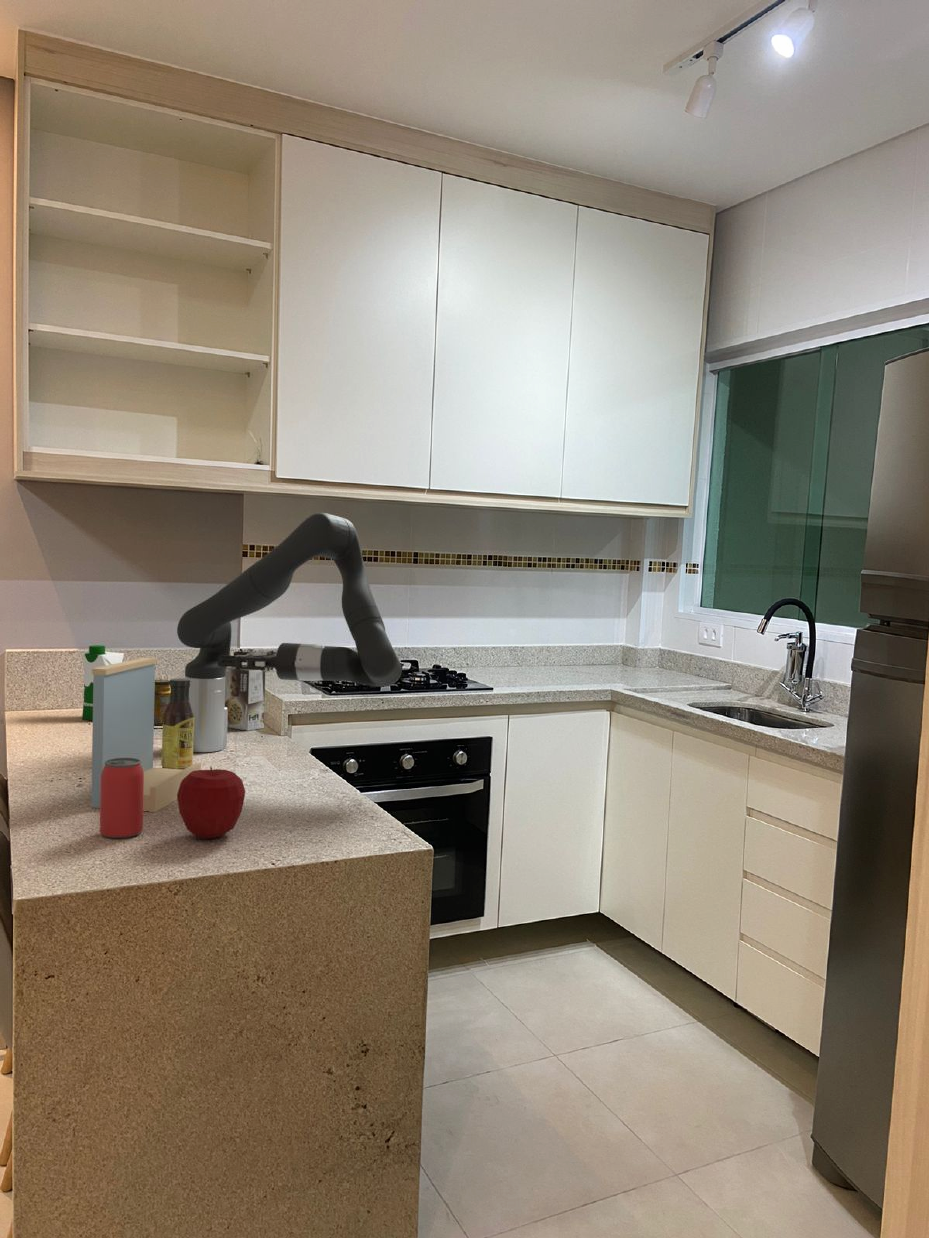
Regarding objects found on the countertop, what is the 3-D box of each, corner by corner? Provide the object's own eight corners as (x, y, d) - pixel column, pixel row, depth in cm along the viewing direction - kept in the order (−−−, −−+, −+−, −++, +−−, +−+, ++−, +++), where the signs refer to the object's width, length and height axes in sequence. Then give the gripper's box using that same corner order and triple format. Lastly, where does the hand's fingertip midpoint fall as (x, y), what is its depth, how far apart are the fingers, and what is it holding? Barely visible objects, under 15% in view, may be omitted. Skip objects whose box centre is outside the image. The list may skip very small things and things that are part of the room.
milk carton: (76, 719, 247) (78, 645, 246) (102, 715, 255) (104, 643, 254) (101, 723, 243) (102, 648, 242) (126, 718, 252) (128, 645, 250)
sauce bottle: (182, 778, 188) (185, 682, 187) (155, 775, 190) (157, 680, 188) (198, 771, 195) (200, 678, 194) (171, 769, 196) (173, 676, 195)
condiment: (170, 722, 249) (171, 678, 248) (175, 728, 241) (176, 682, 240) (142, 723, 246) (143, 679, 245) (146, 729, 238) (147, 683, 237)
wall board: (141, 781, 185) (144, 657, 183) (200, 785, 183) (203, 660, 182) (89, 807, 165) (92, 668, 163) (155, 812, 164) (158, 672, 162)
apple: (207, 851, 144) (209, 777, 143) (161, 837, 149) (162, 766, 149) (258, 835, 153) (260, 765, 152) (212, 823, 159) (214, 756, 158)
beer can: (106, 827, 154) (108, 756, 153) (147, 828, 154) (148, 757, 153) (94, 839, 147) (95, 765, 146) (136, 840, 148) (138, 766, 147)
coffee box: (265, 728, 247) (266, 668, 246) (247, 731, 241) (249, 670, 240) (240, 723, 251) (242, 664, 250) (222, 726, 246) (224, 666, 245)
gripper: (313, 641, 194) (239, 637, 196) (292, 646, 180) (213, 643, 182) (312, 676, 195) (238, 672, 197) (291, 684, 181) (212, 680, 183)
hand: (226, 658), depth 189 cm, fingers open, 8 cm apart
